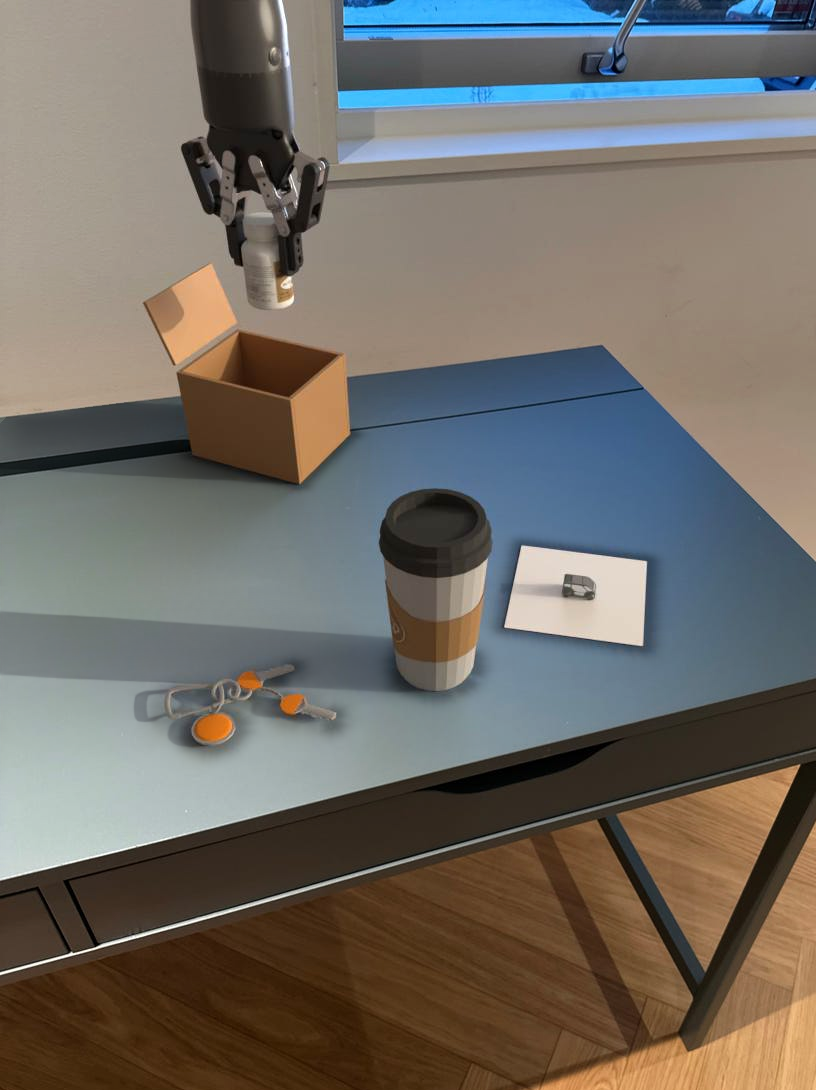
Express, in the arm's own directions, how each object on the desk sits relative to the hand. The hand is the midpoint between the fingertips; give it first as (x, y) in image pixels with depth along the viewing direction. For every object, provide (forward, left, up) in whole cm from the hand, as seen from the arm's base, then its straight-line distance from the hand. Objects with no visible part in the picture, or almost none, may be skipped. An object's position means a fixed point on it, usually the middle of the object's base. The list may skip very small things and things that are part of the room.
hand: (267, 267), depth 88 cm
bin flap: (-9, 0, -6) cm, 11 cm away
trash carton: (-2, 0, -20) cm, 20 cm away
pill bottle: (0, 0, -4) cm, 4 cm away
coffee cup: (+28, -24, -20) cm, 42 cm away
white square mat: (+36, -10, -20) cm, 42 cm away
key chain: (+17, -34, -20) cm, 43 cm away
